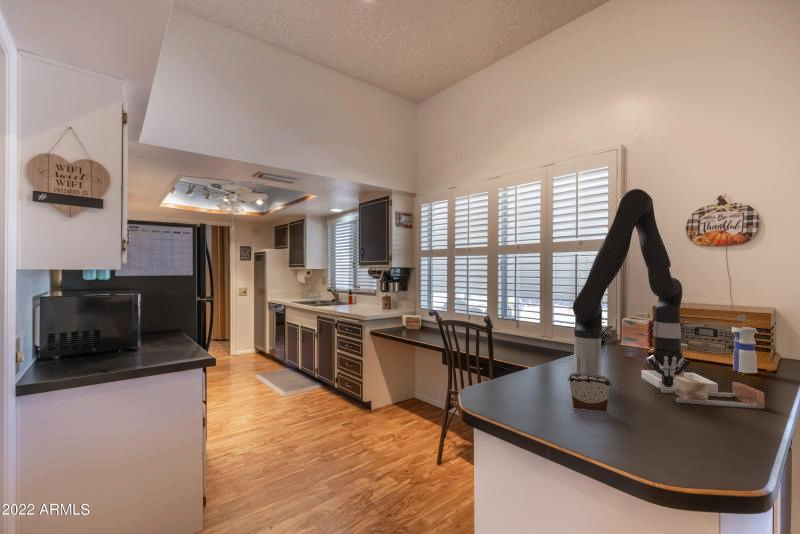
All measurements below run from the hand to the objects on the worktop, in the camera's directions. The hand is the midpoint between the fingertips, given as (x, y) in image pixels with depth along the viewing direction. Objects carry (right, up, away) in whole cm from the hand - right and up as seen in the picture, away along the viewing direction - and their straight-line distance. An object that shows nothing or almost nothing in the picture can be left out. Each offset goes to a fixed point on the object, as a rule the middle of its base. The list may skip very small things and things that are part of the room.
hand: (667, 386), depth 122 cm
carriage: (+7, -4, -2) cm, 8 cm away
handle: (+14, -4, +13) cm, 19 cm away
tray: (+14, -4, +13) cm, 20 cm away
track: (+12, -4, -3) cm, 13 cm away
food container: (-32, -3, -10) cm, 34 cm away
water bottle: (+57, -5, +32) cm, 65 cm away
